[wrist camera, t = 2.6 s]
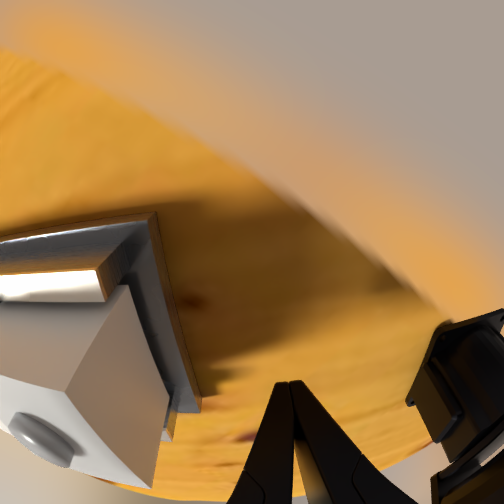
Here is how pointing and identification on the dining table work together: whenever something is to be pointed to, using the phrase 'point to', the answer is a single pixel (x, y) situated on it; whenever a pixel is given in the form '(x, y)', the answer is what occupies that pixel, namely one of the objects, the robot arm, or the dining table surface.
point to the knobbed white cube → (83, 386)
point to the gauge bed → (107, 287)
